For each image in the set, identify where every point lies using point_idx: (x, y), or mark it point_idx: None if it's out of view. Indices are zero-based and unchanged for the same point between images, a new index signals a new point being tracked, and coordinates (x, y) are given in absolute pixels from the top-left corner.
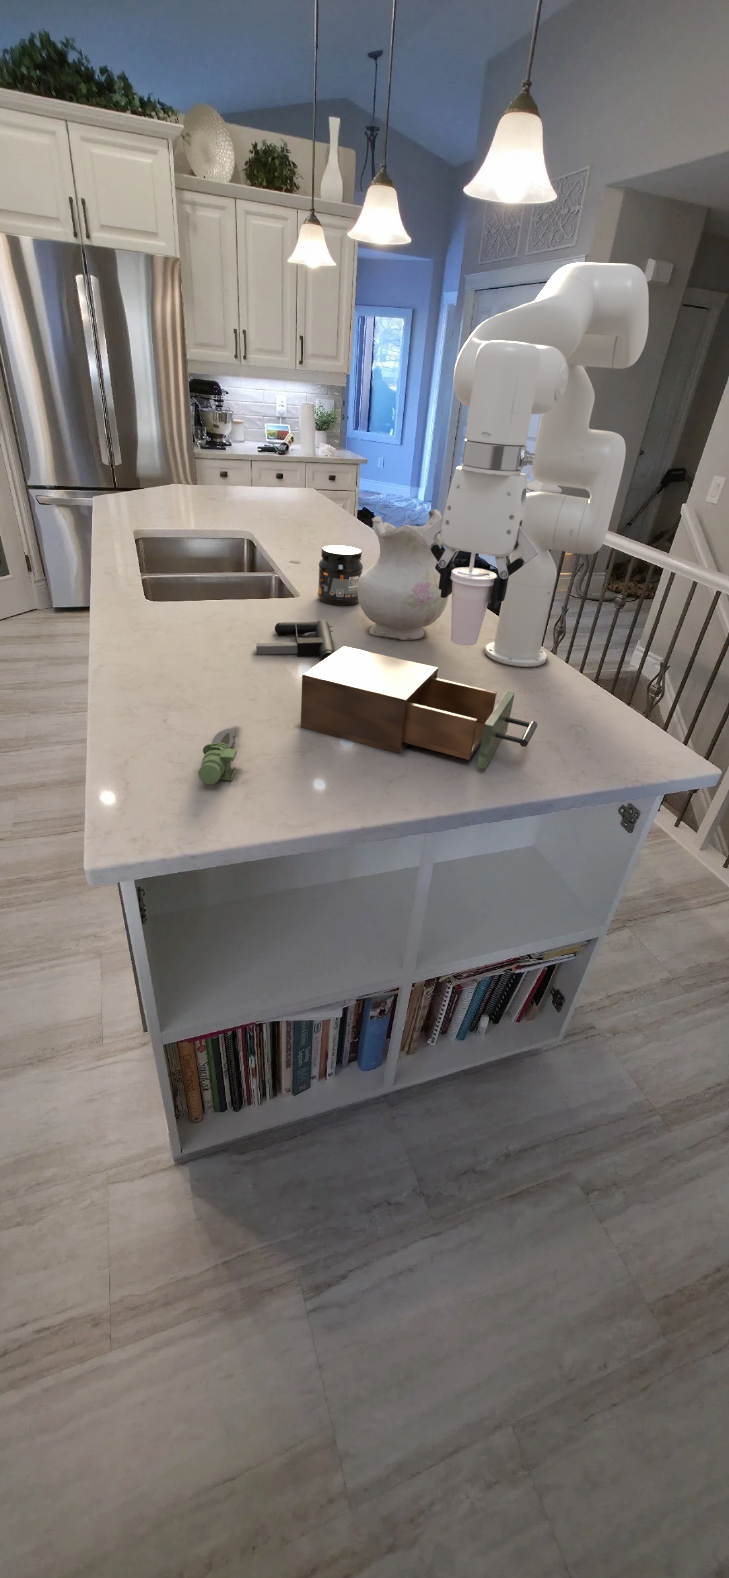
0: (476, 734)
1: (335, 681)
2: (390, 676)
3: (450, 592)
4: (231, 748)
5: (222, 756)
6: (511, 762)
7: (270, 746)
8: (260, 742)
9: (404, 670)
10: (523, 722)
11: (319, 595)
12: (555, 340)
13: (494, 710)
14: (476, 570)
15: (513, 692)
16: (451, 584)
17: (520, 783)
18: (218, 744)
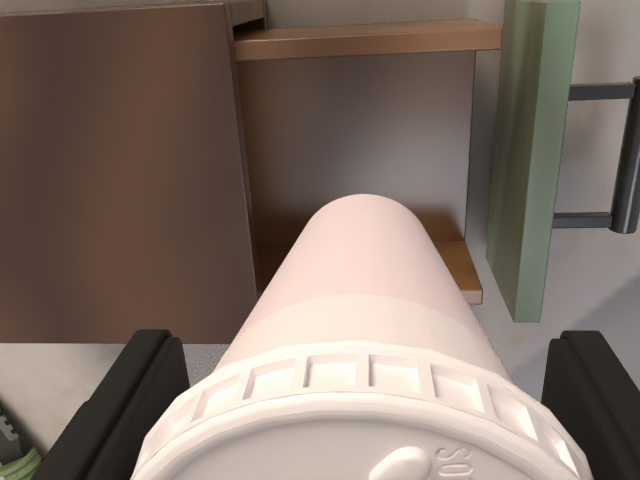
0: (451, 125)
1: (31, 337)
2: (128, 209)
3: (181, 373)
4: (19, 441)
5: None
6: (564, 148)
7: (49, 364)
8: (22, 361)
9: (134, 127)
10: (613, 97)
11: None
12: None
13: (526, 217)
14: (329, 476)
15: (575, 6)
16: (159, 418)
17: (599, 240)
18: (5, 475)
